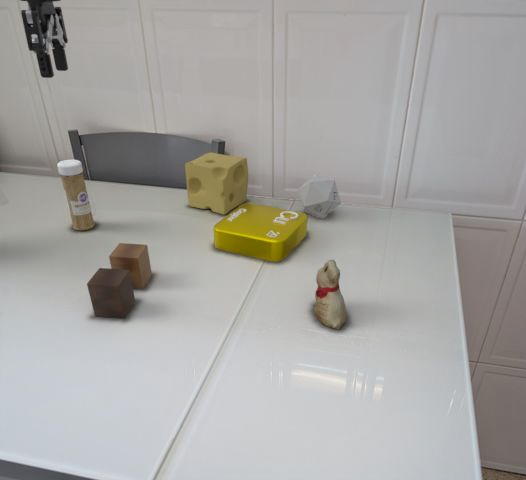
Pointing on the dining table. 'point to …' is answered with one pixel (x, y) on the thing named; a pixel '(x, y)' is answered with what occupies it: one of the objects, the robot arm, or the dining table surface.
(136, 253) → the oak block
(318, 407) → the dining table surface
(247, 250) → the element tile
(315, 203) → the die
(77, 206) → the sprinkles bottle
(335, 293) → the chocolate bunny
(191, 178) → the cheese
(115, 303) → the walnut block
